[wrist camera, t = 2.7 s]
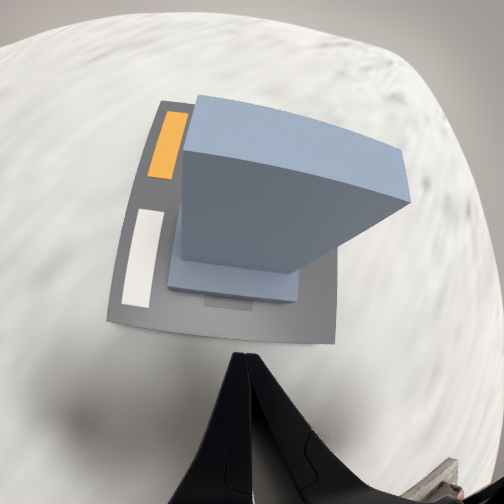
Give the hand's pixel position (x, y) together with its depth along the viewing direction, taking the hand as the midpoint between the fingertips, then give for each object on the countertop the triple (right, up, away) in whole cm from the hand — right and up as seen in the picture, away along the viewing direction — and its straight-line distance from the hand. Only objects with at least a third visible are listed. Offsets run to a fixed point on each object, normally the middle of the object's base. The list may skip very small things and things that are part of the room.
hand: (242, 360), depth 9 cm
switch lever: (-1, +3, +5) cm, 6 cm away
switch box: (-1, +6, +8) cm, 10 cm away
